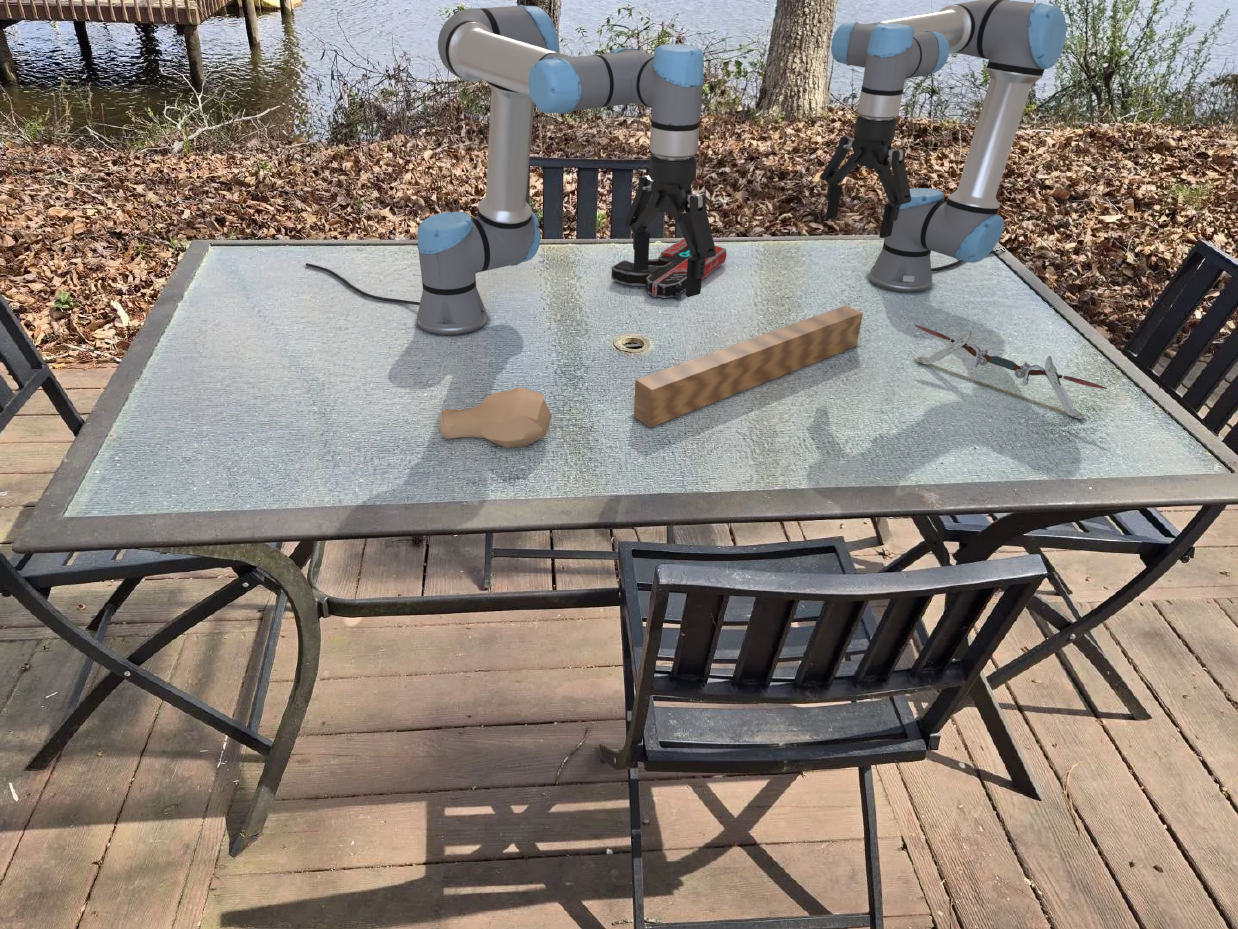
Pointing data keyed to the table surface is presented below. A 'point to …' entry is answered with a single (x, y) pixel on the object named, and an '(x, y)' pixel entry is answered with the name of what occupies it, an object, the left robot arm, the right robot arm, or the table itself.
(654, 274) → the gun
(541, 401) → the squash
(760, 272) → the table surface
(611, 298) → the table surface
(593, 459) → the table surface
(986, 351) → the bow
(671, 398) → the post
